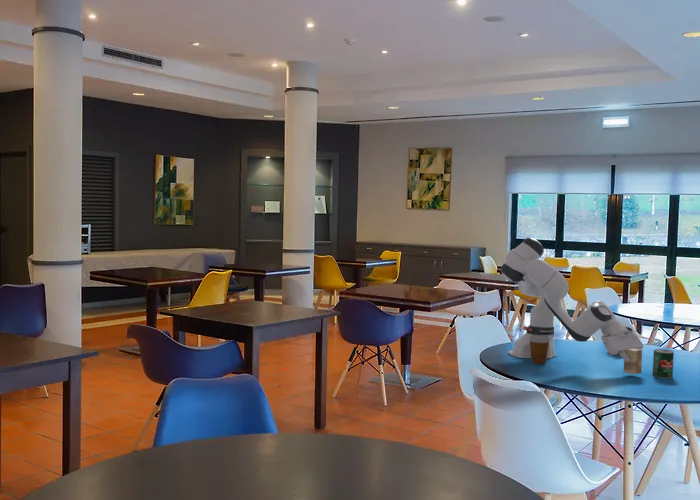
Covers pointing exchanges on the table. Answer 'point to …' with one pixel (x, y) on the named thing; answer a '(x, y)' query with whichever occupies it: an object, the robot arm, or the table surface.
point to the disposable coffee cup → (539, 348)
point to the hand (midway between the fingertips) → (634, 360)
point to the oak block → (633, 361)
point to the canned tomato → (663, 363)
